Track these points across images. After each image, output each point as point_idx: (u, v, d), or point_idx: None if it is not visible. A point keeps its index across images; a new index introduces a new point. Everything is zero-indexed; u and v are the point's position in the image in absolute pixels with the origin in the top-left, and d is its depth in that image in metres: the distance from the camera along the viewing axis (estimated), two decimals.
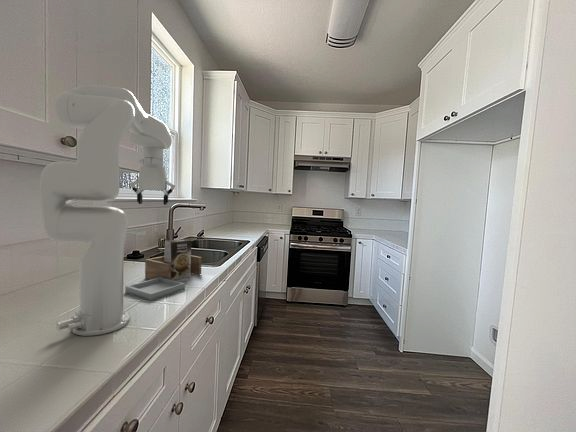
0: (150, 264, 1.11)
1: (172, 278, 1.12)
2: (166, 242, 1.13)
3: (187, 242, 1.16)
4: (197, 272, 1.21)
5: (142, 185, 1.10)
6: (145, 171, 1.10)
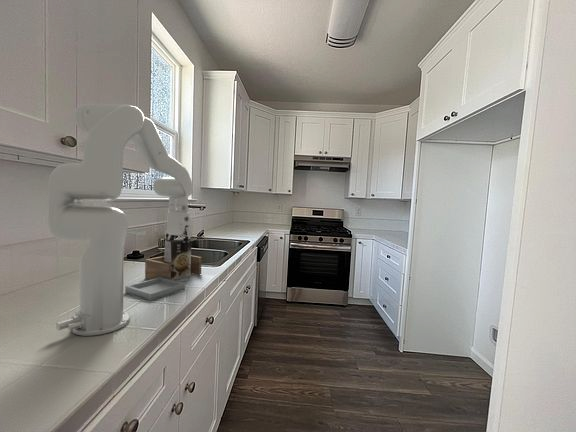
0: (150, 264, 1.11)
1: (172, 278, 1.12)
2: (166, 242, 1.13)
3: None
4: (197, 272, 1.21)
5: None
6: None
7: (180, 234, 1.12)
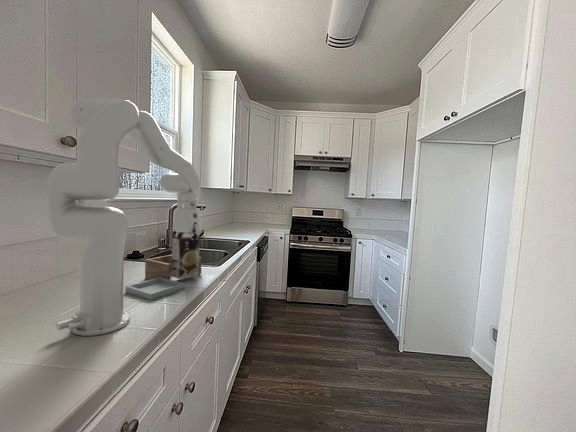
0: (150, 264, 1.11)
1: (180, 276, 1.09)
2: (174, 239, 1.10)
3: None
4: None
5: None
6: None
7: (189, 231, 1.09)
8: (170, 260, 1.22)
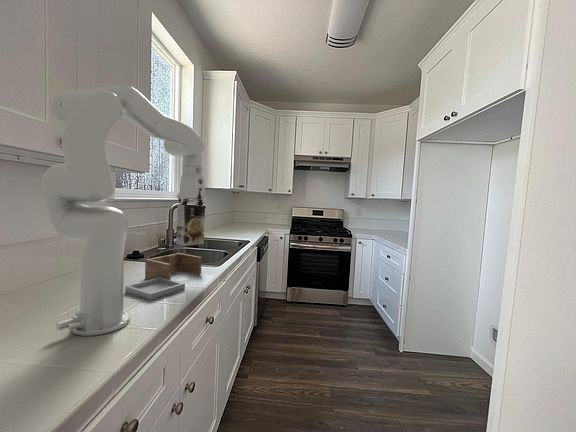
0: (150, 264, 1.11)
1: (185, 243, 1.06)
2: (179, 206, 1.07)
3: (201, 207, 1.10)
4: (197, 272, 1.21)
5: None
6: None
7: (194, 197, 1.06)
8: (170, 260, 1.22)
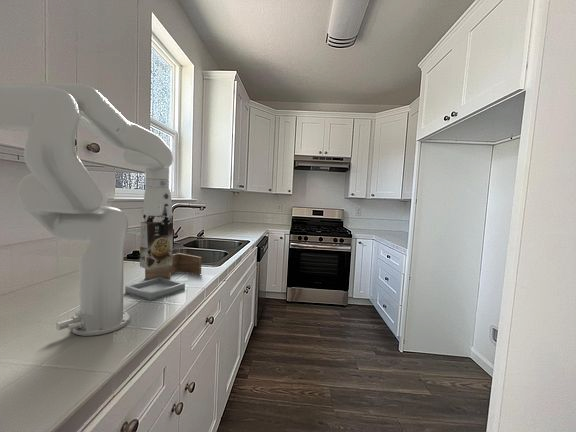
0: None
1: (149, 266, 0.93)
2: (142, 224, 0.95)
3: (168, 224, 0.97)
4: (197, 272, 1.21)
5: None
6: None
7: (158, 214, 0.94)
8: None
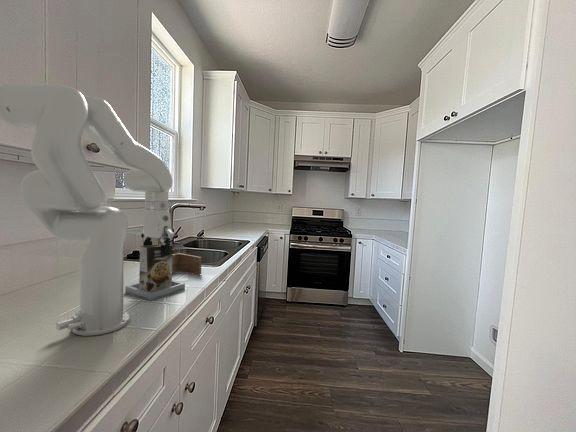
0: None
1: (148, 291, 0.93)
2: (141, 248, 0.95)
3: None
4: (197, 272, 1.21)
5: None
6: None
7: (158, 236, 0.94)
8: None
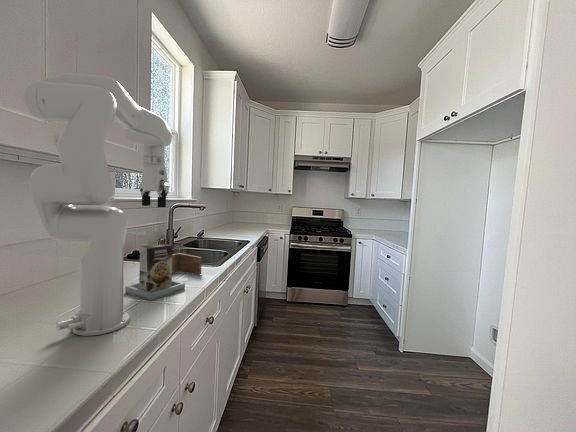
0: None
1: (148, 291, 0.93)
2: (141, 248, 0.95)
3: (167, 248, 0.98)
4: (197, 272, 1.21)
5: None
6: None
7: (155, 189, 1.02)
8: None
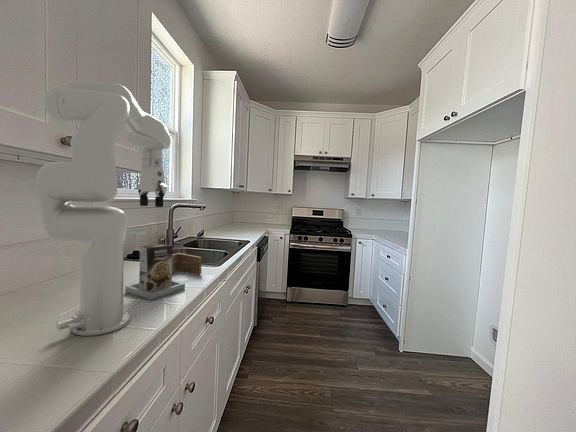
0: None
1: (148, 291, 0.93)
2: (141, 248, 0.95)
3: (167, 248, 0.98)
4: (197, 272, 1.21)
5: None
6: None
7: (153, 189, 1.07)
8: None
